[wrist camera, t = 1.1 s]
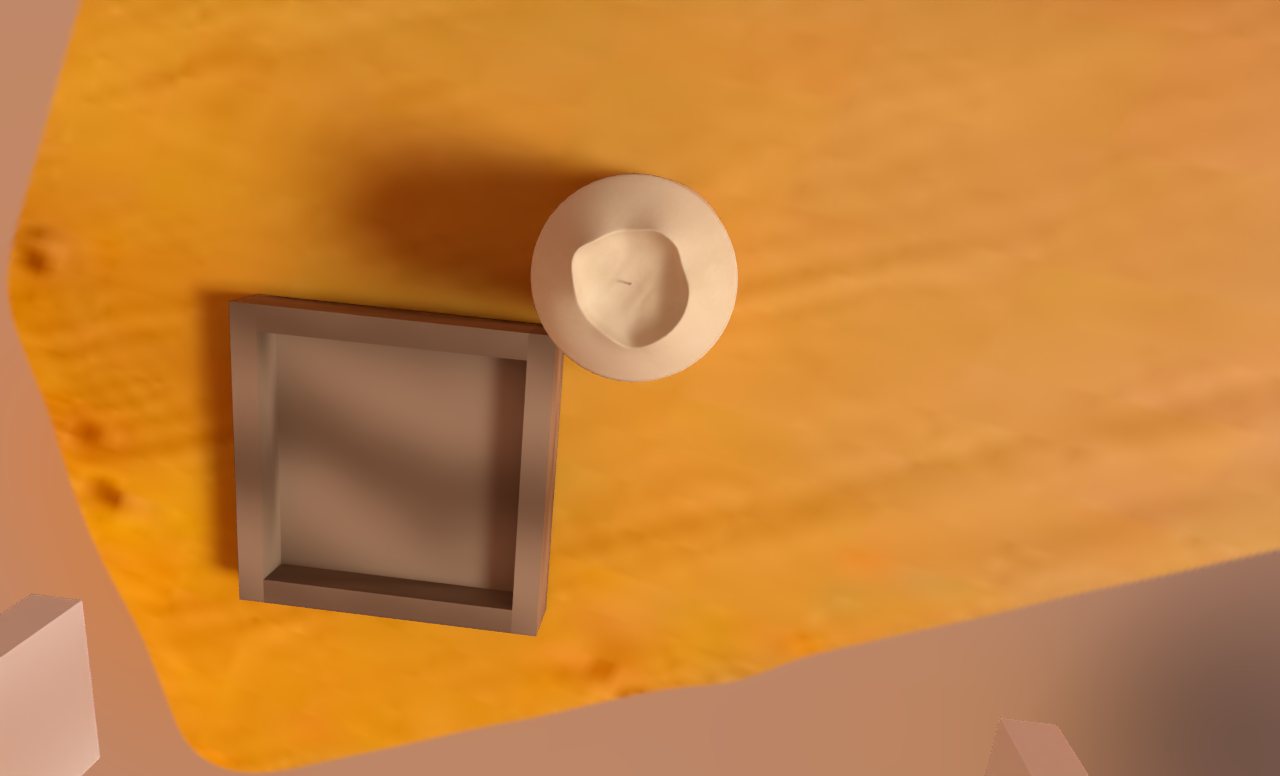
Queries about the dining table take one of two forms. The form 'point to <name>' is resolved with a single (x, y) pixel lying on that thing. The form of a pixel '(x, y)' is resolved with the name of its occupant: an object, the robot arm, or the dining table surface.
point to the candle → (634, 277)
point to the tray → (394, 461)
